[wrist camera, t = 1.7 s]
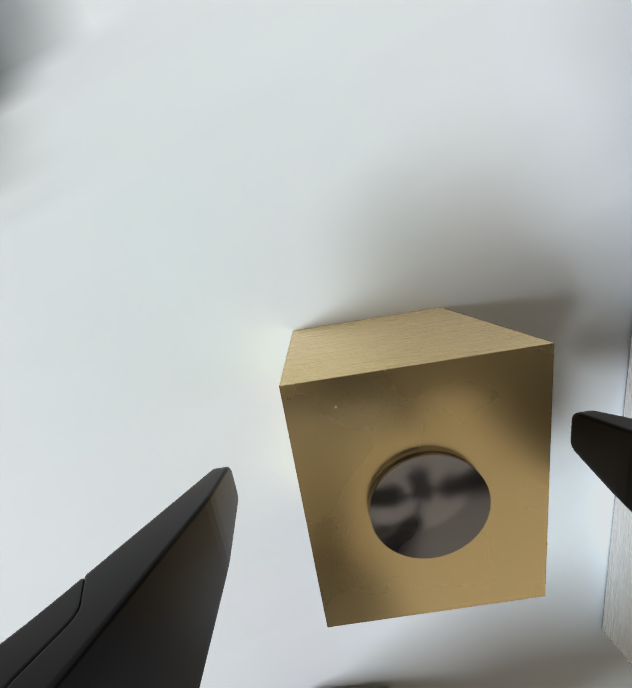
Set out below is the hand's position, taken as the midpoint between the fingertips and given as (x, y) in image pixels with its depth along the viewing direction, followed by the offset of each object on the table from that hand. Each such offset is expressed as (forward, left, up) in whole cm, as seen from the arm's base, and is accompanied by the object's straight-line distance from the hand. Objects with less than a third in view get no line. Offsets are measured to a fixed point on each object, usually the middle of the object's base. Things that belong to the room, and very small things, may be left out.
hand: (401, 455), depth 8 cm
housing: (0, 0, -3) cm, 3 cm away
